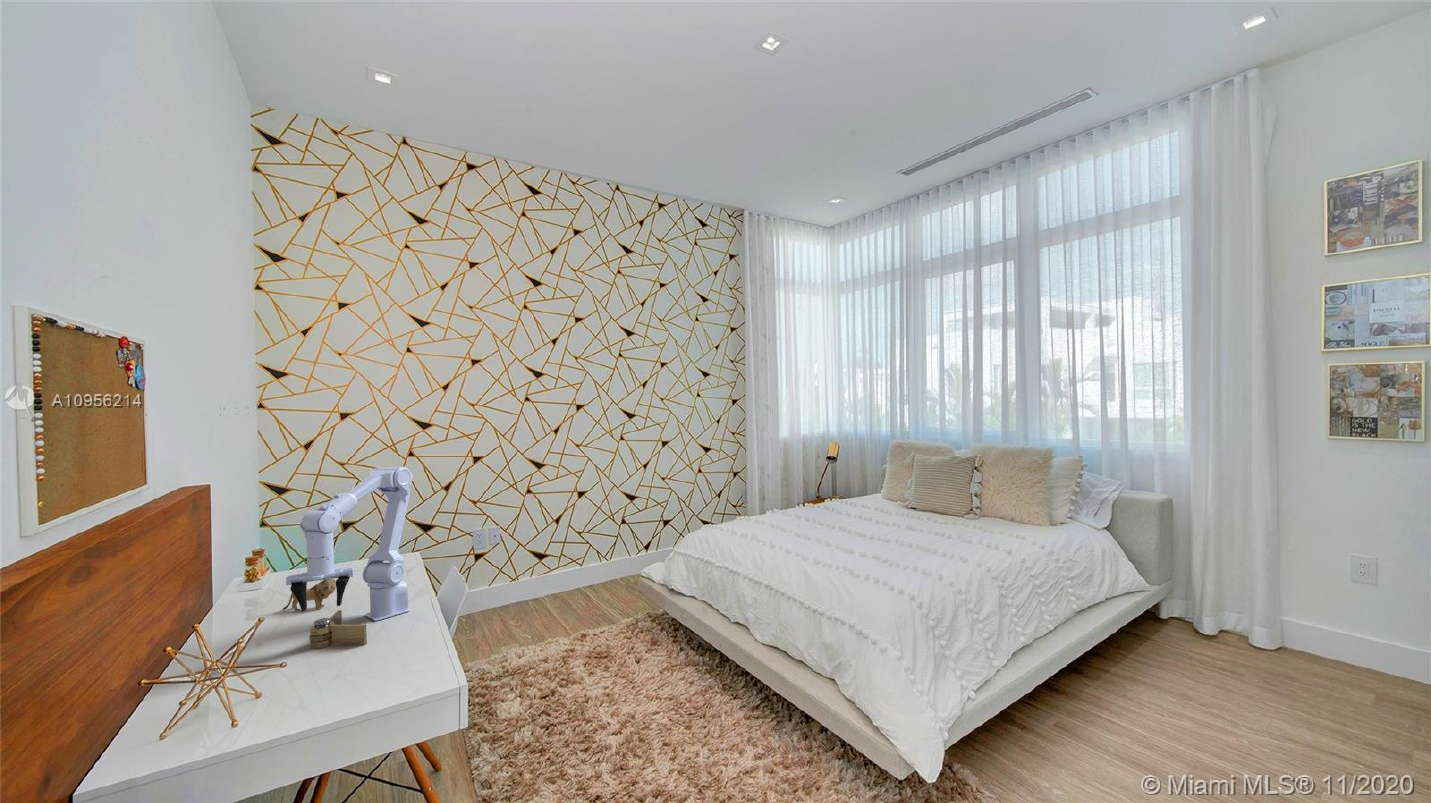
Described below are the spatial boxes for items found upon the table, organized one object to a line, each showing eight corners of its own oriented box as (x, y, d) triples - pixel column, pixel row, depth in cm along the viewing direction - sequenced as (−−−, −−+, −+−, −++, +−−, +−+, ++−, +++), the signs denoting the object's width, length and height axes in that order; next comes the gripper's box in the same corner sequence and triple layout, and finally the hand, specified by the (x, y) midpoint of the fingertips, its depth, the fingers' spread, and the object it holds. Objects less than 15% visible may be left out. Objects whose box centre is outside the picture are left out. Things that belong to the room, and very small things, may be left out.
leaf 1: (329, 645, 140) (329, 628, 140) (307, 648, 139) (306, 631, 139) (350, 624, 154) (350, 608, 154) (330, 626, 153) (329, 611, 153)
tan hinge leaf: (305, 648, 140) (305, 629, 140) (321, 640, 145) (320, 621, 145) (358, 648, 139) (358, 629, 139) (372, 640, 144) (371, 621, 144)
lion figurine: (339, 603, 173) (339, 575, 173) (332, 609, 168) (331, 580, 168) (286, 608, 169) (285, 579, 169) (277, 614, 164) (276, 585, 164)
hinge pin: (328, 640, 145) (328, 616, 145) (333, 643, 142) (332, 619, 142) (312, 645, 142) (312, 621, 142) (316, 648, 139) (316, 624, 139)
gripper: (281, 564, 136) (282, 618, 136) (350, 555, 141) (351, 607, 141) (290, 556, 142) (291, 608, 142) (355, 549, 148) (356, 598, 148)
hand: (321, 607), depth 142 cm, fingers open, 7 cm apart
